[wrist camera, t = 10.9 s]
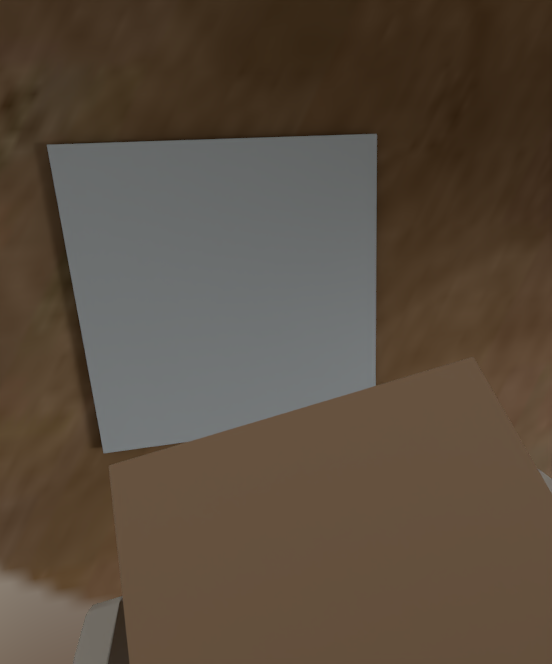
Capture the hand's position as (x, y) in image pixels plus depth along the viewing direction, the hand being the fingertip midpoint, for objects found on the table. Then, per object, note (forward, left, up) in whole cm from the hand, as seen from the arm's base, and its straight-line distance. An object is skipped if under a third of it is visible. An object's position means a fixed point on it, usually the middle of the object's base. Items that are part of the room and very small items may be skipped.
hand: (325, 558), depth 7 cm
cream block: (-1, +4, -3) cm, 5 cm away
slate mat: (0, -2, -15) cm, 15 cm away
